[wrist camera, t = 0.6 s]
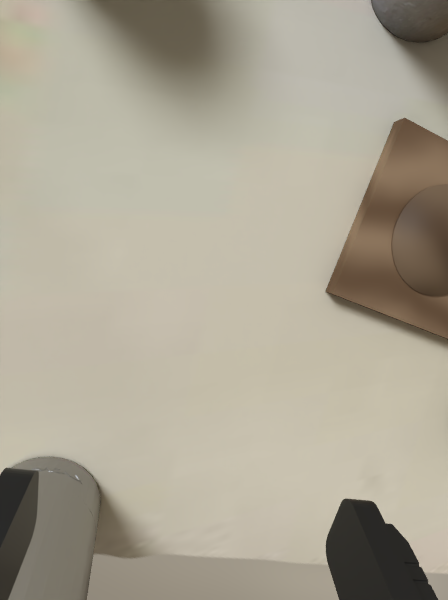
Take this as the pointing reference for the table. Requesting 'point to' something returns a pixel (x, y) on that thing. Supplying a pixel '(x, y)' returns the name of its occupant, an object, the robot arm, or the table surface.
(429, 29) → the pillar candle
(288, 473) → the table surface
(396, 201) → the walnut board
